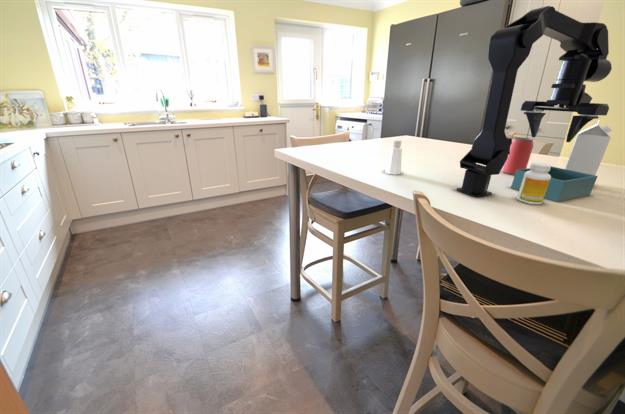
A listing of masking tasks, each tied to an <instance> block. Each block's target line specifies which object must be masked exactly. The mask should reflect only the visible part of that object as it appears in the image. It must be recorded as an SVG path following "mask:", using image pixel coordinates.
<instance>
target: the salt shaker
mask: <svg viewBox="0 0 625 414" xmlns="http://www.w3.org/2000/svg"><path fill="white" fill-rule="evenodd" d="M401 146H402V140H401V139H393V140H392V146H391V147H390V149H389V155H388V159H387V163H386V167H385V171H384V172H385V174H388V175H393V176H397V175H401V173H402V159H403V158H402V156H403V155H402V153H403V148H402V147H401Z"/></svg>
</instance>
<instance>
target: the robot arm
mask: <svg viewBox="0 0 625 414" xmlns="http://www.w3.org/2000/svg"><path fill="white" fill-rule="evenodd" d="M543 36H545V37H548V38H550V39H553V40H555V41H557V42H559V43H560V44H559V48H560V49H562V50H563V51H564V52H565V53H563V54H562V55H561V56H559V57H558V61H562V64H561V66H560V69H559V72H558V75H557V78H556V82H555V83H552V84H551V87H550V88H551V89H553V90H552V94H551V97H550V99H547V100H546V101H543V100H542V101H541V100H525V101H524V102H523V103H522V104H521V106H520V109H519V111H521V112H523V115H525V116H526V119H527V121H528V125H529V129H530V136H531V138H536V137H537V134H538V132H539V129H540V125H541V122H542V119H543V118H544V116H545V115H546V114H547V112H544V111H551V112H552V111H553V112H570V113H577V115H572V118H571V121H570V124H569V128H568V131H567V134H566V138H565V139H566V140H565V142H566V143H571V142H572V140H573V139H574V138H576V137H577V134H578V133H579V132H581V131H582V129H583V128H584V127H585V126H586V125H587V124H588V123H589V122H591V121H593V120H597V119H598V120H599V118H600V116H608V113H609V110H610V106H609V103H597V102H596V103H595V102H592V100H593V97H592V96H591V95H590V94H588V93H587V92H586V86H587V84H584V83H585V82H588V83H596V82H597V83H598V82H600V81H602V80H604V79H606V78H607V77H608V76H609V75H610V74H611V71H612V69H613V67H612V62H611V61H610V60H609V59H607V58H608V55H609V53H610V50H609V49H610V48H609V29H608V26H607V25H606V24H605V23H603V22H597V21H596V22H594V21H593V22H581V21H579V20H577V19H575V18H573V17H571V16H569V15H567V14H565V13H563V12H560V11H558V10H556V8H555V7H554V6H551V5H546V6H542V7H538V8H533V9H531V10H529V11H528V12H526V13H525V14H524V15H522V17H520V18H518V19H516V20H514V21H512V22H511V23H509V24H507V25H506V26H504V27H502V28H499V29H497V30H496V31H495V32H494V33H493V34H492V35H491V36H490V38H489V41H488V51H487V52H488V53H487V59H488V63H489V65H490V67H491V69H492V74H491V80H490V85H489V91H488V97H487V100H486V101H487V102H486V107H485V111H484V118H483V124H482V129H481V131H480V133H479V134H478V135H477V136H476V138H474V140H473V142H472V146H471V149H470V150H469V151H468V152H467V153H466V154H465V155H464V156H463V157H462V158H461V159H460V160H459V168H460V169H465V171H464V176H463V181H462V185H461V187H457V188H456V189H455V190H456V191H457V192H460V193H463V194H466V195H468V196H471V197H474V198H478V197H484V196H492V194H493V192H491V191H488V190H489V186H490V184H491V183H490V182H491V178H492V176H496V175H500V173H501V172H502V170H503V166H504V164H505V162H506V160H507V158H508V155H509V154H510V147H511V144H512V140H513V138H511V137H507V134H506V132H505V131H506V126H507V122H508V117H509V112H510V108H511V104H512V98H513V93H514V89H515V83H516V80H517V75H518V71H519V68H521V66H522V65H523V64H524V62H525V61H526V60H527V58H528V57H529V56H530V53H531V50H532V47H533V44H535V43H536V42H537V41H538V40H540V38H543Z"/></svg>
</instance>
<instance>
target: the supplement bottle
mask: <svg viewBox="0 0 625 414" xmlns="http://www.w3.org/2000/svg"><path fill="white" fill-rule="evenodd" d="M551 166H552V165H551V164H549V163H543V162H531V163H530V166H529V168H530V169H531V170H530V171H527V172H526V173H525V174H524V177H523V180H522V183H521V187H520V190H518V194H517V197H516V199H517V200H518V201H519V202H521V203H525V204H529V205H541V204H543V201H544V199H545V198H544V196H545V194H546V191H547V188H548V185H549V182H550V179H551V175H550V174H548V172H549V171H550V169H551Z"/></svg>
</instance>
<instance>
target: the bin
mask: <svg viewBox="0 0 625 414" xmlns="http://www.w3.org/2000/svg"><path fill="white" fill-rule="evenodd" d="M530 170H531V169H530V167H529V168H528V167H527V168H526V169H520V170H516V172H515V175H513V179H512V182H511V185H510V189H513V190H516V191H519V190H520V187H521V183H522V180H523V177H524V174H525V173H526V172H527V171H530ZM548 174H550V175H551V179H550V182H549V185H548V188H547V191H546V194H545V196H544V199H545V200H549V201H553V202H557V203H559V202H563V201H569V200H572V199H573V200H574V199H578V198H583V197H588V196H591V193H592V192H593V191H592V190H593V188H594V187H595V184H596V181H597V178H598V175H590V174H586V173H581V172H576V171H571V170H566V169H565V168H561V167H557V166H552V165H551V169H550V171H549V172H548Z"/></svg>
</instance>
